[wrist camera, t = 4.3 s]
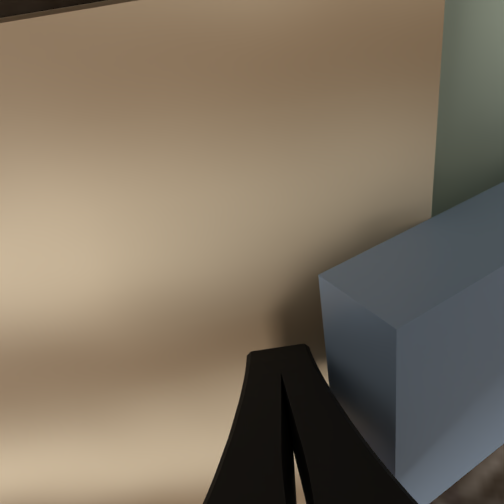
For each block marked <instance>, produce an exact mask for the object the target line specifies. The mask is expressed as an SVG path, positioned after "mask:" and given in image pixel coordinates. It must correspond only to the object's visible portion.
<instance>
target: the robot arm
mask: <svg viewBox="0 0 504 504" xmlns="http://www.w3.org/2000/svg"><path fill="white" fill-rule="evenodd" d="M294 455H295V460H296V464H297V468H298V472H299V476H300V480H301V484H302V488H303V492H304V496H305V501H306V504H418V503H417V502H416V500H415V499H414V498H413V497H412V496H411V495H410V494H409V493H408V492H407V490H406V489H405V488H404V487H403V486H402V485H401V484H400V482H399V481H398V480H397V479H396V478H395V477H394V476H393V474H392V473H391V472H390V471H389V470H388V468H387V467H386V466H385V465H384V463H383V462H382V461H381V460H380V458H379V457H378V456H377V455H376V453H375V452H374V451H373V450H372V448H371V447H370V446H369V444H368V443H367V442H366V440H365V439H364V438H363V436H362V435H361V434H360V432H359V431H358V430H357V428H356V427H355V425H354V424H353V423H352V421H351V420H350V418H349V417H348V415H347V414H346V412H345V411H344V409H343V408H342V406H341V405H340V403H339V402H338V400H337V399H336V397H335V396H334V394H333V392H332V391H331V389H330V387H329V386H328V384H327V382H326V381H325V379H324V377H323V375H322V373H321V372H320V370H319V368H318V366H317V364H316V362H315V360H314V357H313V355H312V353H311V350H310V347H309V346H307V345H306V344H304V343H303V344H297V345H290V346H283V347H277V348H270V349H263V350H257V351H251V352H250V353H249V354H248V355H247V359H246V368H245V375H244V380H243V385H242V390H241V394H240V398H239V402H238V406H237V409H236V413H235V416H234V420H233V423H232V427H231V430H230V433H229V436H228V439H227V442H226V445H225V448H224V450H223V453H222V456H221V459H220V462H219V464H218V467H217V470H216V473H215V475H214V478H213V480H212V483H211V485H210V488H209V490H208V492H207V495H206V497H205V499H204V502H203V504H297V500H296V483H295V466H294Z"/></svg>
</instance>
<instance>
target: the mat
mask: <svg viewBox="0 0 504 504" xmlns="http://www.w3.org/2000/svg"><path fill="white" fill-rule="evenodd" d="M502 182H504V0H445V9H444V25H443V40H442V56H441V71H440V87H439V102H438V118H437V133H436V149H435V165H434V180H433V196H432V211H431V218H432V217H434V216H436V215H438V214H440V213H442V212H444V211H446V210H448V209H450V208H452V207H454V206H456V205H458V204H460V203H462V202H464V201H466V200H468V199H470V198H472V197H474V196H476V195H478V194H480V193H482V192H484V191H486V190H488V189H490V188H492V187H494V186H496V185H498V184H500V183H502Z"/></svg>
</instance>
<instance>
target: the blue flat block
mask: <svg viewBox="0 0 504 504" xmlns="http://www.w3.org/2000/svg"><path fill="white" fill-rule="evenodd" d="M318 277H319V288H320V298H321V308H322V318H323V328H324V338H325V348H326V359H327V369H328V379H329V387H330V389H331V391H332V392H333V394H334V396H335V397H336V399H337V400H338V402H339V403H340V405H341V406H342V408H343V409H344V411H345V412H346V414H347V415H348V417H349V418H350V420H351V421H352V423H353V424H354V425H355V427H356V428H357V430H358V431H359V432H360V434H361V435H362V436H363V438H364V439H365V440H366V442H367V443H368V444H369V446H370V447H371V448H372V450H373V451H374V452H375V453H376V455H377V456H378V457H379V458H380V460H381V461H382V462H383V463H384V465H385V466H386V467H387V468H388V470H389V471H390V472H391V473H392V474H393V476H394V477H395V478H396V479H397V480H398V481H399V482H400V484H401V485H402V486H403V487H404V488H405V489H406V490H407V492H408V493H409V494H410V495H411V496H412V497H413V498H414V499H415V500H416V502H417V503H418V504H429V503H431V502H432V501H433V500H434V499H436V498H437V497H438V496H439V495H441V494H442V493H443V492H444V491H446V490H447V489H448V488H449V487H451V486H452V485H453V484H454V483H456V482H457V481H458V480H459V479H460V478H462V477H463V476H464V475H465V474H467V473H468V472H469V471H470V470H472V469H473V468H474V467H475V466H477V465H478V464H479V463H480V462H482V461H483V460H484V459H485V458H486V457H488V456H489V455H490V454H491V453H493V452H494V451H495V450H496V449H498V448H499V447H500V446H501V445H503V444H504V182H502V183H500V184H498V185H496V186H494V187H492V188H490V189H488V190H486V191H484V192H482V193H480V194H478V195H476V196H474V197H472V198H470V199H468V200H466V201H464V202H462V203H460V204H458V205H456V206H454V207H452V208H450V209H448V210H446V211H444V212H442V213H440V214H438V215H436V216H434V217H432V218H430V219H428V220H426V221H424V222H422V223H420V224H418V225H416V226H414V227H412V228H410V229H408V230H406V231H404V232H402V233H400V234H398V235H397V236H395V237H393V238H391V239H389V240H387V241H385V242H383V243H381V244H379V245H377V246H375V247H373V248H371V249H369V250H367V251H365V252H363V253H361V254H359V255H357V256H355V257H353V258H351V259H349V260H347V261H345V262H343V263H341V264H339V265H337V266H335V267H333V268H331V269H329V270H327V271H325V272H323V273H321V274H319V275H318Z"/></svg>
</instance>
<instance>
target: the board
mask: <svg viewBox="0 0 504 504" xmlns="http://www.w3.org/2000/svg"><path fill="white" fill-rule="evenodd" d="M444 9H445V0H106V1H100V2H94V3H87V4H81V5H75V6H69V7H63V8H57V9H51V10H45V11H39V12H33V13H27V14H21V15H15V16H9V17H3V18H0V504H203V502H204V499H205V497H206V495H207V492H208V490H209V488H210V485H211V483H212V480H213V478H214V475H215V473H216V470H217V467H218V464H219V462H220V459H221V456H222V453H223V450H224V448H225V445H226V442H227V439H228V436H229V433H230V430H231V427H232V423H233V420H234V416H235V413H236V409H237V406H238V402H239V398H240V394H241V390H242V385H243V380H244V375H245V368H246V359H247V355H248V354H249V353H250V352H251V351H257V350H263V349H270V348H277V347H283V346H290V345H297V344H303V343H304V344H306V345H307V346H309V347H310V350H311V353H312V355H313V357H314V360H315V362H316V364H317V366H318V368H319V370H320V372H321V373H322V375H323V377H324V379H325V381H326V382H327V384H328V386H329V379H328V369H327V359H326V348H325V338H324V328H323V318H322V308H321V298H320V288H319V277H318V275H319V274H321V273H323V272H325V271H327V270H329V269H331V268H333V267H335V266H337V265H339V264H341V263H343V262H345V261H347V260H349V259H351V258H353V257H355V256H357V255H359V254H361V253H363V252H365V251H367V250H369V249H371V248H373V247H375V246H377V245H379V244H381V243H383V242H385V241H387V240H389V239H391V238H393V237H395V236H397V235H398V234H400V233H402V232H404V231H406V230H408V229H410V228H412V227H414V226H416V225H418V224H420V223H422V222H424V221H426V220H428V219H430V218H431V211H432V196H433V180H434V165H435V149H436V133H437V118H438V102H439V87H440V71H441V56H442V40H443V25H444ZM294 466H295V483H296V500H297V504H306V501H305V496H304V492H303V488H302V484H301V480H300V476H299V472H298V468H297V464H296V460H295V455H294Z"/></svg>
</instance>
